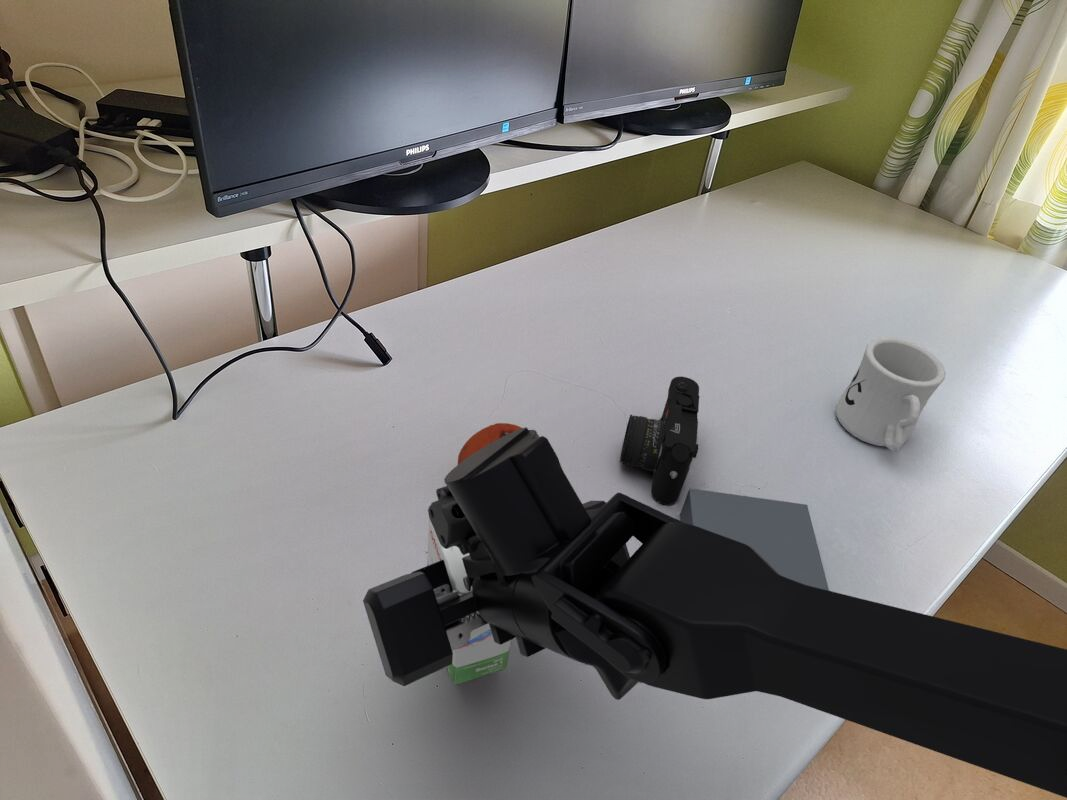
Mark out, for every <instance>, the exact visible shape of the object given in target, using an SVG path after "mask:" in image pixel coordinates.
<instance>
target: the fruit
mask: <svg viewBox="0 0 1067 800" xmlns="http://www.w3.org/2000/svg"><path fill="white" fill-rule="evenodd" d="M522 428H523V427H522V426H520V425H517V424H513V423H509V422H498V423H497V422H496V423H494V424H490V425H488V426H486V427H483V428H482V429H480V430H479V431H476V432H475V433H474V434H473V435H472V436H470V437H469V438H468V440H466V441H465V443H464V445H463V446H462V447H461V448H460V451H459V453H458V456H457V465H458V464H460V463H461V462H462V461H464V460H465V459H467V458H468V457H469V456H471V455H472V454H474V453H475V452H477V451H479V450H480V449H482V448H483V447H485V446H487V445H489V444H490V443H492V442H494V441H496V440H498V439H499V438H501V437H503V436H505V435H507V434H510V433H512V432H514V431H517V430H519V429H522Z"/></svg>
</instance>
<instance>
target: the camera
mask: <svg viewBox="0 0 1067 800" xmlns="http://www.w3.org/2000/svg"><path fill="white" fill-rule="evenodd" d="M669 383H670V384H669V387H668V390H667V398H666V401H665V404H664V407H663V411H662V415H661V417H660V419H656V418H655V419H653V418H648V417H646V416H642V415H640V416H639V415H633V414H630V415H629V418H628V421H627V424H626V427H625V428H626V429H625V432H624V436H623V437H624V438H623V441H622V446H621V452H620V457H619V463H622V464H623V465H627V466H631V467H634V468H637V467H640V468H642V469H643V470H648V471H651V472H653V474H652V482H651V488H650V494H651V496H652V498H653V499H654V500H655V501H656V502H658V503H660V504H661V505H669V506H670V505H674V504H675V503H676V502H677V501H678V500H679V498H680V495H681V493H682V490H683V487H684V484H685V482H686V479H687V476H688V474H689V471H690V468H691V464H692V462H693V459H696V457H697V455H698V452H699V444H698V443H697V442H698V428H699V421H698V420H699V418H698V413H699V407H700V406H699V405H700V386H699V384H698V382H696V381H695V380H694V379H692V378H690V377H687V376H675V377H673V378H672V379H671V380H670V382H669Z"/></svg>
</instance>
